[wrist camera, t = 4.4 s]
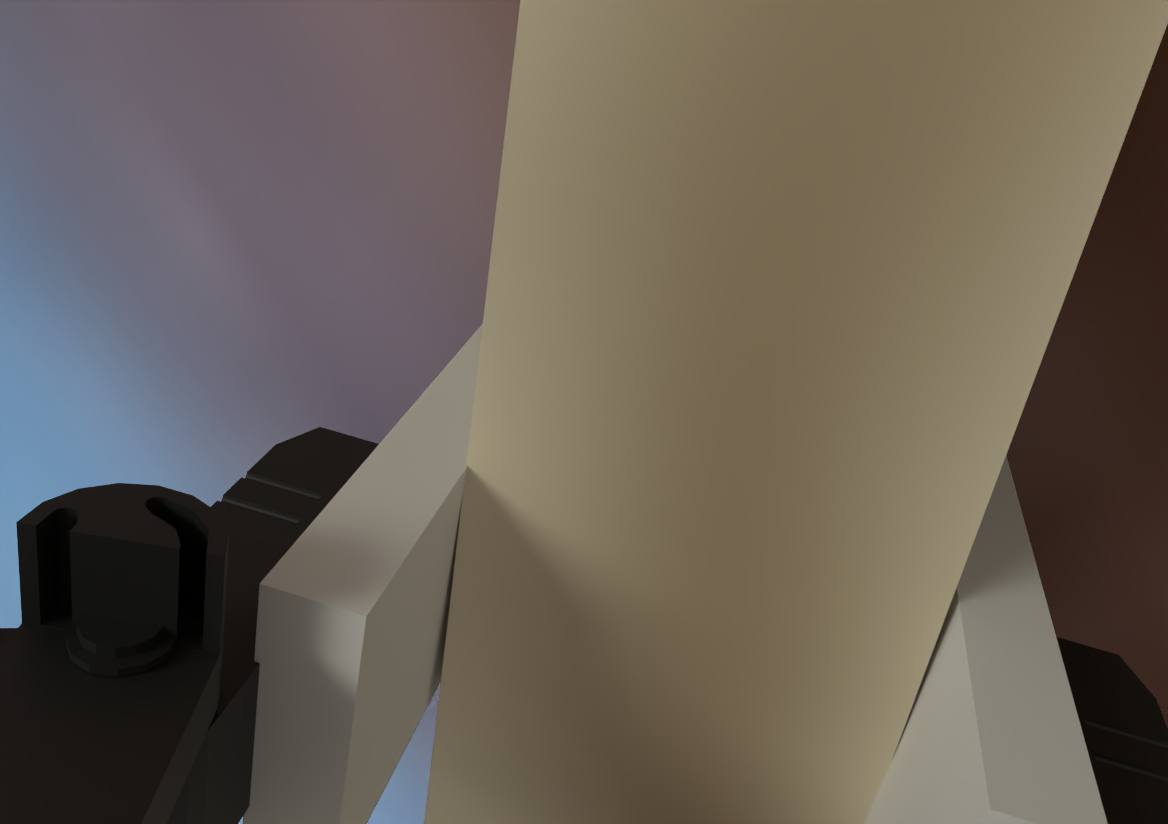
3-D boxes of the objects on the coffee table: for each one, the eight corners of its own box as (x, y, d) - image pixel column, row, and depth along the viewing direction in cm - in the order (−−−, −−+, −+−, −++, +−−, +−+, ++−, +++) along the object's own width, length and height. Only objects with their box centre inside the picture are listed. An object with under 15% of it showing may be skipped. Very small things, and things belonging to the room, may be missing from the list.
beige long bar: (503, 826, 18) (387, 1136, 13) (695, -360, 10) (584, -550, 6) (746, 896, 17) (711, 1243, 13) (1125, -298, 10) (1347, -459, 6)
